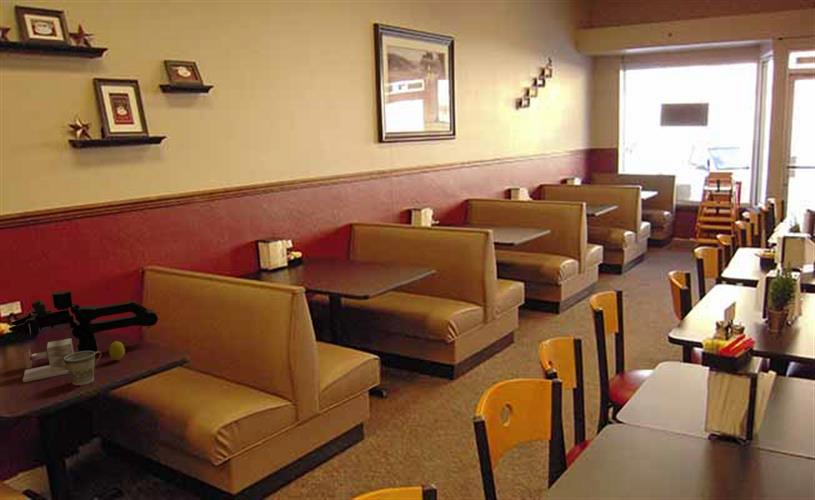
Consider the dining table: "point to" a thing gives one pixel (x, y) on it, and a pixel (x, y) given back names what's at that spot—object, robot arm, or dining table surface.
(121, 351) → the lemon
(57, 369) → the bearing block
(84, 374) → the ceramic cup
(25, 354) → the shaft
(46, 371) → the mounting plate
